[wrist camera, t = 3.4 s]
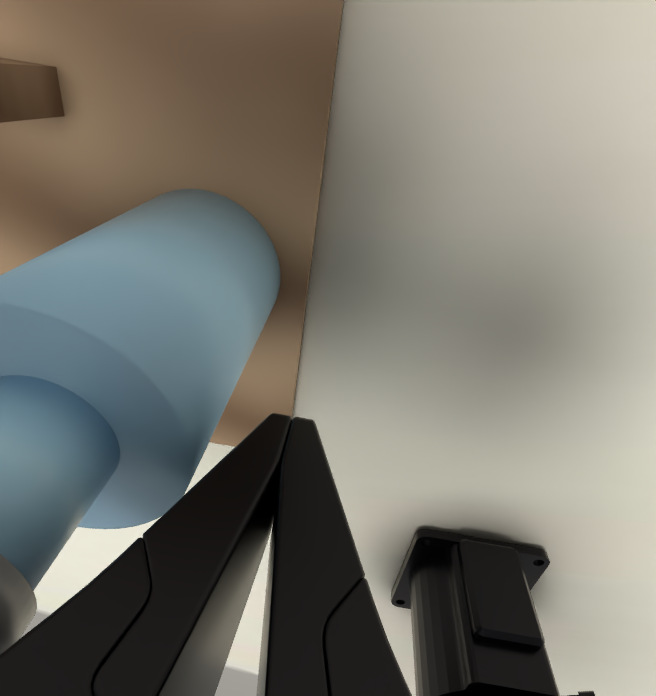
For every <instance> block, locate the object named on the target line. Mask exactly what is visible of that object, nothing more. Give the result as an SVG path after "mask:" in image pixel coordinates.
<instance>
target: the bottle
mask: <svg viewBox="0 0 656 696" xmlns="http://www.w3.org/2000/svg"><path fill="white" fill-rule="evenodd" d="M279 288H280V266H279V261H278V257H277V253H276V251H275V248H274V245H273V243H272V241H271V239H270V238H269V236H268V234H267V233H266V231H265V230H264V228H263V227H262V226H261V224H260V223H259V222H258V221H257V220H256V219H255V218H254V216H252V215H251V214H250V213H249V212H248V211H247V210H246V209H244V208H243V207H242V206H240V205H239V204H237V203H236V202H234V201H232V200H230V199H228V198H227V197H225V196H222V195H219V194H217V193H214V192H210V191H206V190H201V189H179V190H173V191H169V192H167V193H164V194H161V195H159V196H157V197H155V198H153V199H151V200H149V201H147V202H145V203H143V204H141V205H139V206H137V207H135V208H133V209H131V210H129V211H127V212H125V213H123V214H121V215H119V216H117V217H115V218H113V219H111V220H109V221H107V222H105V223H103V224H101V225H99V226H97V227H95V228H93V229H91V230H89V231H87V232H86V233H84V234H82V235H80V236H78V237H76V238H74V239H72V240H70V241H68V242H66V243H64V244H62V245H60V246H58V247H56V248H54V249H52V250H50V251H48V252H46V253H44V254H42V255H40V256H38V257H36V258H34V259H32V260H30V261H28V262H26V263H24V264H22V265H20V266H18V267H16V268H14V269H12V270H10V271H8V272H6V273H4V274H2V275H0V654H1V653H2V652H4V651H5V650H6V649H8V648H9V647H10V646H11V645H13V644H14V643H15V642H16V641H18V640H19V639H20V637H21V636H22V634H23V633H24V631H25V630H26V628H27V627H28V625H29V623H30V622H31V620H32V619H33V617H34V616H35V613H36V609H37V602H36V598H35V595H34V592H33V591H34V589H35V588H36V586H37V585H38V583H39V582H40V580H41V579H42V577H43V576H44V574H45V573H46V571H47V570H48V569H49V567H50V566H51V564H52V563H53V561H54V560H55V558H56V557H57V555H58V554H59V552H60V551H61V549H62V548H63V547H64V545H65V544H66V542H67V541H68V539H69V538H70V536H71V535H72V533H73V532H74V530H75V529H76V528H77V527H85V528H95V529H119V528H126V527H133V526H137V525H141V524H145V523H148V522H150V521H153V520H155V519H157V518H159V517H161V516H162V515H164V514H165V513H166V512H167V511H168V510H169V509H170V508H171V507H172V506H173V505H174V504H175V503H177V502H178V501H179V500H180V499H181V498H182V497H183V496H184V494H185V491H186V489H187V487H188V485H189V483H190V481H191V479H192V477H193V475H194V473H195V471H196V468H197V466H198V464H199V462H200V460H201V458H202V456H203V454H204V452H205V449H206V447H207V445H208V443H209V441H210V439H211V437H212V435H213V433H214V430H215V428H216V426H217V424H218V422H219V420H220V418H221V416H222V414H223V411H224V409H225V407H226V405H227V403H228V401H229V399H230V397H231V395H232V393H233V390H234V388H235V386H236V384H237V382H238V380H239V378H240V376H241V374H242V371H243V369H244V367H245V365H246V363H247V361H248V359H249V357H250V355H251V352H252V350H253V348H254V346H255V344H256V342H257V340H258V338H259V336H260V333H261V331H262V329H263V327H264V325H265V323H266V321H267V319H268V317H269V314H270V312H271V310H272V308H273V306H274V304H275V302H276V299H277V296H278V293H279Z"/></svg>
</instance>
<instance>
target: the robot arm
mask: <svg viewBox="0 0 656 696" xmlns="http://www.w3.org/2000/svg"><path fill="white" fill-rule="evenodd" d="M272 524H273V526H272ZM271 528H272V534H271V542H270V553H269V564H268V575H267V586H266V597H265V608H264V619H263V630H262V641H261V652H260V663H259V674H258V685H257V696H412V695H411V693H410V690H409V688H408V686H407V684H406V682H405V679H404V677H403V674H402V672H401V670H400V667H399V665H398V663H397V660H396V658H395V656H394V653H393V651H392V649H391V646H390V644H389V641H388V639H387V636H386V634H385V631H384V628H383V625H382V622H381V620H380V617H379V614H378V611H377V609H376V606H375V603H374V600H373V597H372V594H371V591H370V588H369V585H368V582H367V580H366V579H365V578H364V576H365V573H364V570H363V567H362V564H361V561H360V558H359V555H358V552H357V549H356V546H355V543H354V540H353V537H352V534H351V531H350V528H349V525H348V521H347V518H346V515H345V512H344V509H343V506H342V503H341V500H340V497H339V494H338V491H337V488H336V485H335V482H334V479H333V476H332V473H331V470H330V467H329V463H328V460H327V457H326V454H325V451H324V448H323V445H322V442H321V439H320V436H319V433H318V430H317V427H316V424H315V422H314V421H313V420H311V419H306V418H300V417H295V418H293V420H292V417H291V416H289V415H283V414H278V413H272V414H270V415H269V416H268V417H267V418H266V419H265V420H264V421H262V422H261V423H260V424H259V425H258V426H257V427H256V428H255V429H254V430H253V431H252V432H251V433H250V434H249V435H248V436H247V437H245V438H244V439H243V440H242V441H241V442H240V443H239V444H238V445H237V446H236V447H235V448H234V449H233V450H232V451H231V452H230V453H229V454H227V455H226V456H225V457H224V458H223V459H222V460H221V461H220V462H219V463H218V464H217V465H216V466H215V467H214V468H213V469H212V470H210V471H209V472H208V473H207V474H206V475H205V476H204V477H203V478H202V479H201V480H200V481H199V482H198V483H197V484H196V485H195V486H194V487H192V488H191V489H190V490H189V491H188V492H187V493H186V494H185V495H184V496H183V497H182V498H181V499H180V500H179V501H178V502H177V503H175V504H174V505H173V506H172V507H171V508H170V509H169V510H168V511H167V512H166V513H165V514H164V515H163V516H162V517H161V518H160V519H159V520H157V521H156V522H155V523H154V524H153V525H152V526H151V527H150V528H149V529H148V530H147V531H146V532H145V533H144V534H143V538H138V539H137V540H136V541H135V542H134V543H133V544H132V545H131V546H130V547H129V548H127V549H126V550H125V551H124V552H123V553H122V554H121V555H120V556H119V557H118V558H117V559H116V560H115V561H113V562H112V563H111V564H110V565H109V566H108V567H107V568H106V569H105V570H103V571H102V572H101V573H100V574H99V575H98V576H97V577H96V578H94V579H93V580H92V581H91V582H90V583H89V584H88V585H87V586H85V587H84V588H83V589H82V590H80V591H79V592H78V593H77V594H75V595H74V596H73V597H72V598H71V599H69V600H68V601H67V602H66V603H64V604H63V605H62V606H61V607H59V608H58V609H57V610H56V611H55V612H53V613H52V614H51V615H50V616H48V617H47V618H46V619H45V620H43V621H42V622H41V623H40V624H38V625H37V626H36V627H34V628H33V629H32V630H31V631H29V632H28V633H27V634H25V636H23V637H22V638H20V639H19V640H18V641H16V642H15V643H14V644H13V645H11V646H10V647H9V648H8V649H6V650H5V651H4V652H2V653H1V654H0V696H214V695H215V692H216V689H217V687H218V683H219V681H220V678H221V675H222V672H223V669H224V666H225V663H226V660H227V658H228V655H229V652H230V649H231V646H232V643H233V640H234V637H235V634H236V631H237V629H238V626H239V623H240V620H241V617H242V614H243V611H244V608H245V605H246V602H247V600H248V597H249V594H250V591H251V588H252V585H253V582H254V579H255V576H256V573H257V571H258V568H259V565H260V562H261V559H262V556H263V553H264V550H265V547H266V544H267V541H268V538H269V535H270V532H271ZM549 563H550V561H549V558H548V556H547V553H546V552H545V551H544V550H542V549H537V548H531V547H526V546H520V545H514V544H509V543H503V542H497V541H491V540H486V539H480V538H474V537H469V536H463V535H457V534H452V533H446V532H440V531H435V530H429V529H422V530H419V531H417V532H416V534H415V536H414V538H413V541H412V543H411V546H410V548H409V551H408V553H407V556H406V558H405V561H404V563H403V566H402V568H401V571H400V573H399V576H398V578H397V580H396V583H395V585H394V588H393V590H392V593H391V603H392V604H393V605H395V606H397V607H402V608H408V609H411V618H412V634H413V650H414V666H415V682H416V696H560V695H559V692H558V688H557V685H556V682H555V678H554V675H553V672H552V668H551V665H550V662H549V658H548V655H547V651H546V648H545V645H544V637H543V633H542V630H541V627H540V623H539V620H538V617H537V613H536V610H535V607H534V603H533V600H532V597H531V593H530V590H531V589H532V587H533V586H534V585H535V583H536V582H537V581H538V579H539V578H540V576H541V575H542V574H543V572H544V571H545V569H546V568H547V567H548V565H549ZM578 693H579V695H569V696H595V694H594V692H593V691H584V692H578Z"/></svg>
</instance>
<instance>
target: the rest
mask: <svg viewBox="0 0 656 696" xmlns="http://www.w3.org/2000/svg"><path fill="white" fill-rule="evenodd" d="M343 3H344V0H0V275H2V274H4V273H6V272H8V271H10V270H12V269H14V268H16V267H18V266H20V265H22V264H24V263H26V262H28V261H30V260H32V259H34V258H36V257H38V256H40V255H42V254H44V253H46V252H48V251H50V250H52V249H54V248H56V247H58V246H60V245H62V244H64V243H66V242H68V241H70V240H72V239H74V238H76V237H78V236H80V235H82V234H84V233H86V232H87V231H89V230H91V229H93V228H95V227H97V226H99V225H101V224H103V223H105V222H107V221H109V220H111V219H113V218H115V217H117V216H119V215H121V214H123V213H125V212H127V211H129V210H131V209H133V208H135V207H137V206H139V205H141V204H143V203H145V202H147V201H149V200H151V199H153V198H155V197H157V196H159V195H161V194H164V193H167V192H169V191H173V190H179V189H201V190H206V191H210V192H214V193H217V194H219V195H222V196H225V197H227V198H228V199H230V200H232V201H234V202H236V203H237V204H239V205H240V206H242V207H243V208H244V209H246V210H247V211H248V212H249V213H250V214H251V215H252V216H254V218H255V219H256V220H257V221H258V222H259V223H260V224H261V226H262V227H263V228H264V230H265V231H266V233H267V234H268V236H269V238H270V239H271V241H272V243H273V245H274V248H275V251H276V253H277V257H278V261H279V266H280V288H279V293H278V296H277V299H276V302H275V304H274V306H273V308H272V310H271V312H270V314H269V317H268V319H267V321H266V323H265V325H264V327H263V329H262V331H261V333H260V336H259V338H258V340H257V342H256V344H255V346H254V348H253V350H252V352H251V355H250V357H249V359H248V361H247V363H246V365H245V367H244V369H243V371H242V374H241V376H240V378H239V380H238V382H237V384H236V386H235V388H234V390H233V393H232V395H231V397H230V399H229V401H228V403H227V405H226V407H225V409H224V411H223V414H222V416H221V418H220V420H219V422H218V424H217V426H216V428H215V430H214V433H213V435H212V437H211V439H210V441H209V442H212V443H217V444H223V445H229V446H235V447H236V446H237V445H238V444H239V443H240V442H241V441H242V440H243V439H244V438H245V437H247V436H248V435H249V434H250V433H251V432H252V431H253V430H254V429H255V428H256V427H257V426H258V425H259V424H260V423H261V422H262V421H264V420H265V419H266V418H267V417H268V416H269V415H270V414H272V413H278V414H283V415H289V416H291V417H292V416H293V408H294V400H295V391H296V383H297V375H298V367H299V359H300V351H301V343H302V335H303V327H304V319H305V310H306V302H307V294H308V286H309V278H310V270H311V262H312V254H313V246H314V238H315V229H316V221H317V213H318V205H319V197H320V189H321V181H322V173H323V165H324V157H325V148H326V140H327V132H328V124H329V116H330V108H331V100H332V92H333V84H334V76H335V67H336V59H337V51H338V43H339V35H340V27H341V19H342V11H343Z"/></svg>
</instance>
